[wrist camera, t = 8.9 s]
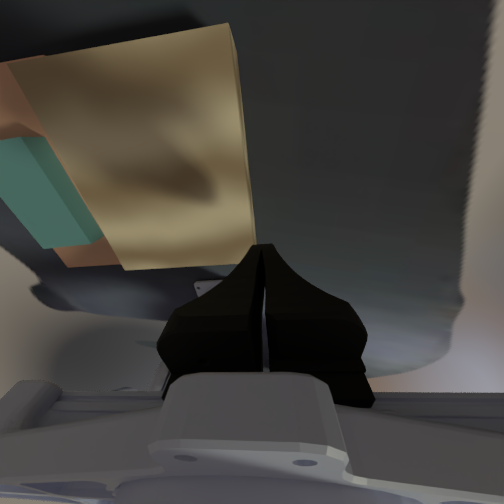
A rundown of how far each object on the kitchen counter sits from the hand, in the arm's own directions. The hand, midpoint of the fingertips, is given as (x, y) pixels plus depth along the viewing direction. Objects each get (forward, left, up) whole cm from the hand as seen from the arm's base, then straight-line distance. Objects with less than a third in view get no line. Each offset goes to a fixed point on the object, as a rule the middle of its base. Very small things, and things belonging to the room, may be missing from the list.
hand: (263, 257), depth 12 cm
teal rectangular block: (+4, +22, -7) cm, 23 cm away
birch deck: (+4, +8, -9) cm, 13 cm away
